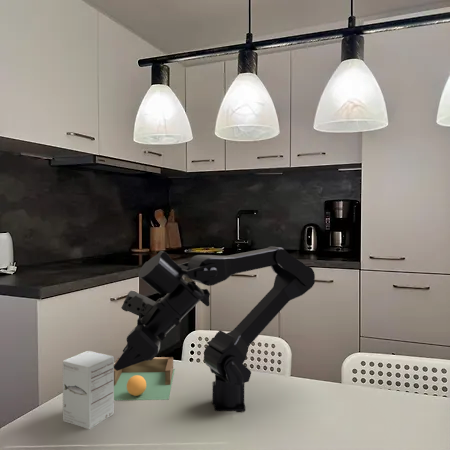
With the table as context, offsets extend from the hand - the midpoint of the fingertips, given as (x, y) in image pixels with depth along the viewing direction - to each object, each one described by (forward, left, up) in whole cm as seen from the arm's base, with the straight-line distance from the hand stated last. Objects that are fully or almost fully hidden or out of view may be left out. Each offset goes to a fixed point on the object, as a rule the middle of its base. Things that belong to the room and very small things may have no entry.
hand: (119, 360), depth 86 cm
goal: (-2, -20, -12) cm, 23 cm away
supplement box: (+6, 0, -12) cm, 14 cm away
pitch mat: (-2, -17, -12) cm, 21 cm away
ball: (-2, -10, -12) cm, 16 cm away
